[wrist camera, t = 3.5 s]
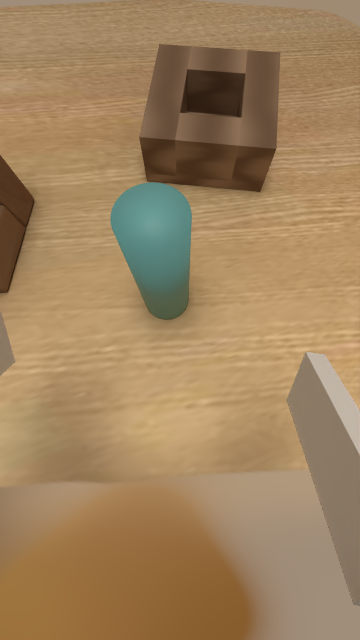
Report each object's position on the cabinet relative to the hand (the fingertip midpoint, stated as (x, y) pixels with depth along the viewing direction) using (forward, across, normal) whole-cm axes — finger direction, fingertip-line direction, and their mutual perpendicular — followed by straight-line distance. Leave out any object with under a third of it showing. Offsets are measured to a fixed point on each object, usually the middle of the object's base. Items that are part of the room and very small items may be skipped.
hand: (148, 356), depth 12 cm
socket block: (+26, +1, +10) cm, 28 cm away
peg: (+13, -1, -3) cm, 13 cm away
